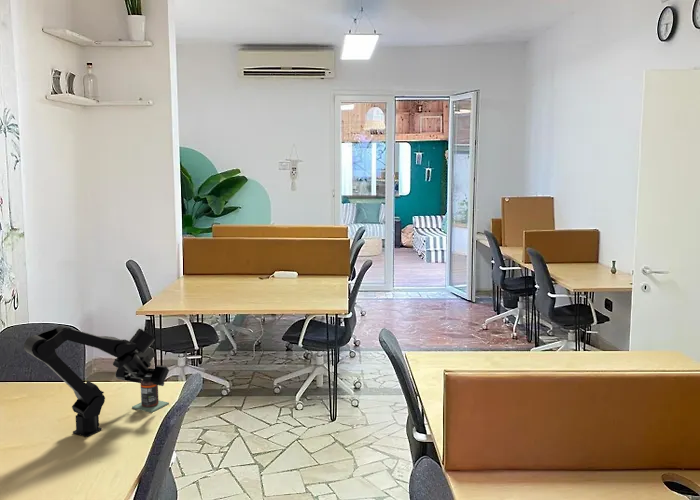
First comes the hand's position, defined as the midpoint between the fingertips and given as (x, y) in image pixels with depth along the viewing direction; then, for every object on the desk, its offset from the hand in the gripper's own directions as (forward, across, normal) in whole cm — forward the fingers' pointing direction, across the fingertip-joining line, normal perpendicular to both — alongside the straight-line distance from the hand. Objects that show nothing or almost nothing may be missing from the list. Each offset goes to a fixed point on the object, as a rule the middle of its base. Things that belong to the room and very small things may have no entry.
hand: (152, 383), depth 230 cm
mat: (+5, 0, +7) cm, 8 cm away
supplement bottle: (+4, 0, +6) cm, 8 cm away
